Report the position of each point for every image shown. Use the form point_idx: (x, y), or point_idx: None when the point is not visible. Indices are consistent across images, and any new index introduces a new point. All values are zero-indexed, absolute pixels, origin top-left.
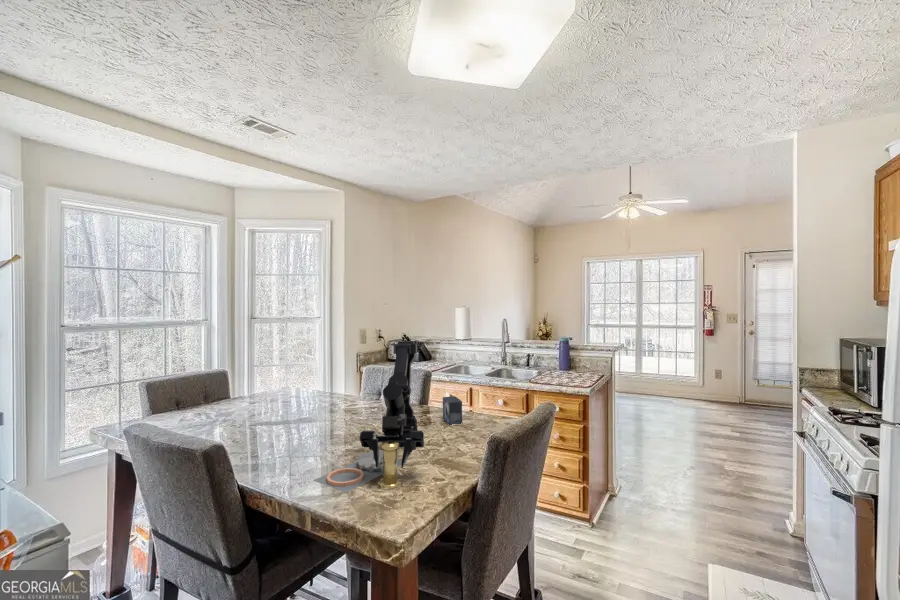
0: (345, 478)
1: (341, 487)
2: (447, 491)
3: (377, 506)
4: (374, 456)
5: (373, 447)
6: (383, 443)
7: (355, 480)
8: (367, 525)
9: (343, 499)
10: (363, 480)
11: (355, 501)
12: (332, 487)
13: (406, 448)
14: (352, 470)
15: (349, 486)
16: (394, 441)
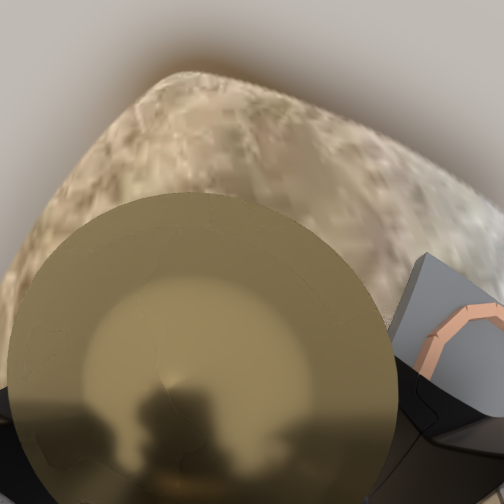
0: (476, 393)
1: (463, 298)
2: (11, 322)
3: (265, 196)
4: (401, 360)
5: (470, 417)
6: (340, 358)
7: (432, 341)
8: (269, 101)
9: (421, 248)
10: None
11: (370, 233)
12: (489, 296)
13: (5, 401)
14: None
15: (438, 312)
16: (85, 484)
